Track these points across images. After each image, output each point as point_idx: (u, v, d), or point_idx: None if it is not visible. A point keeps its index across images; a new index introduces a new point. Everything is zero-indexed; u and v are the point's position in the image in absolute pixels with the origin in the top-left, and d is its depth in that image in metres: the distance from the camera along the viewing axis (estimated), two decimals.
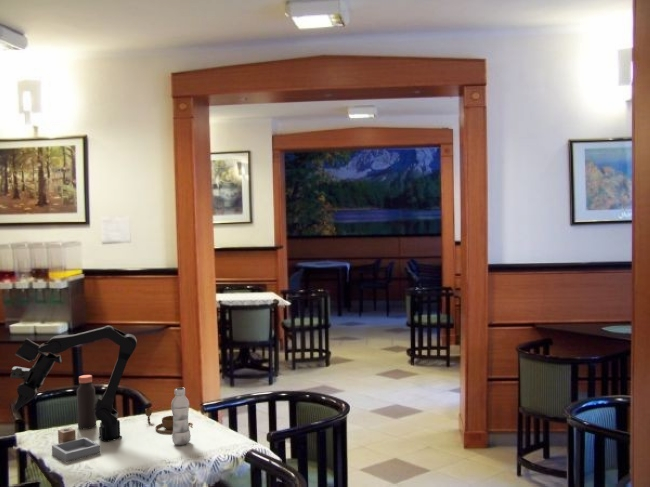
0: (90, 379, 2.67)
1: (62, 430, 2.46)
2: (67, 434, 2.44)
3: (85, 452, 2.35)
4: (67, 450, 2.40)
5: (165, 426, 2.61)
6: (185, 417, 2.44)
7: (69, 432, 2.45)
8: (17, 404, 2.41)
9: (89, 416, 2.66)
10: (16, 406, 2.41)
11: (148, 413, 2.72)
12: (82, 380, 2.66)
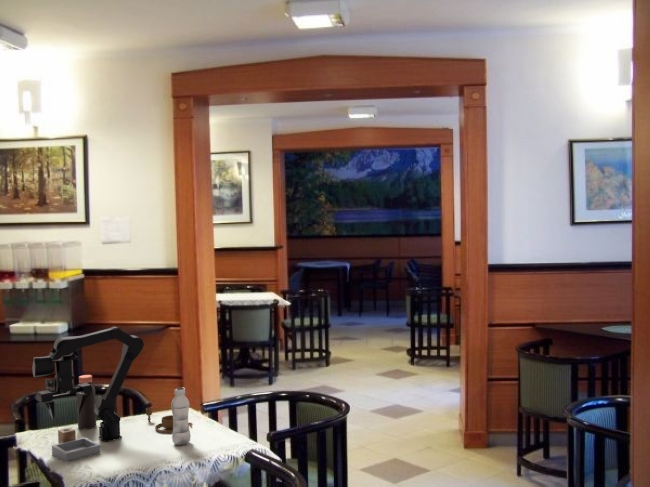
0: (90, 379, 2.67)
1: (62, 430, 2.46)
2: (67, 434, 2.44)
3: (85, 452, 2.35)
4: (67, 450, 2.40)
5: (164, 426, 2.62)
6: (185, 417, 2.44)
7: (69, 432, 2.45)
8: (50, 413, 2.43)
9: (89, 416, 2.66)
10: (51, 415, 2.43)
11: (148, 412, 2.73)
12: (82, 380, 2.66)
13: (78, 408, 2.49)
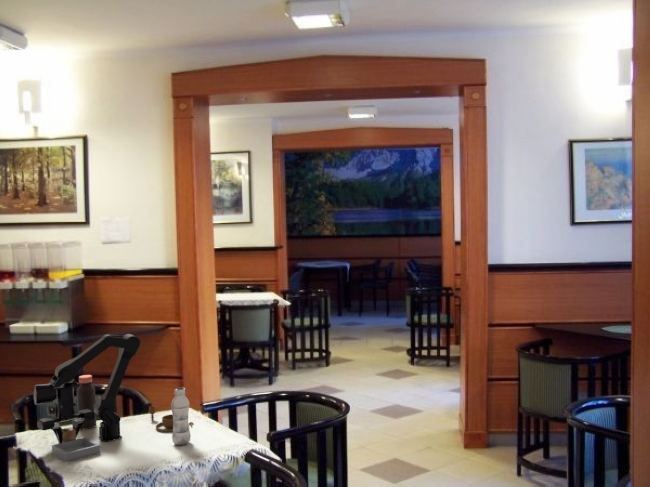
0: (90, 379, 2.67)
1: (62, 430, 2.46)
2: (67, 434, 2.44)
3: (85, 452, 2.35)
4: (67, 450, 2.40)
5: (165, 425, 2.63)
6: (185, 417, 2.44)
7: (69, 432, 2.45)
8: (57, 439, 2.44)
9: None
10: (58, 441, 2.45)
11: (151, 411, 2.75)
12: (82, 380, 2.66)
13: None
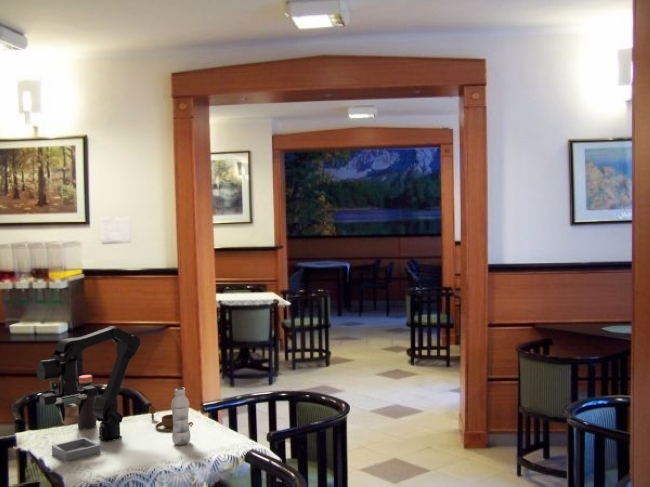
0: (90, 379, 2.67)
1: (65, 406, 2.41)
2: (70, 410, 2.40)
3: (85, 452, 2.35)
4: (67, 450, 2.40)
5: (164, 424, 2.63)
6: (185, 417, 2.44)
7: (72, 408, 2.40)
8: (60, 415, 2.40)
9: (89, 416, 2.66)
10: (61, 417, 2.40)
11: (152, 411, 2.76)
12: (82, 380, 2.66)
13: None
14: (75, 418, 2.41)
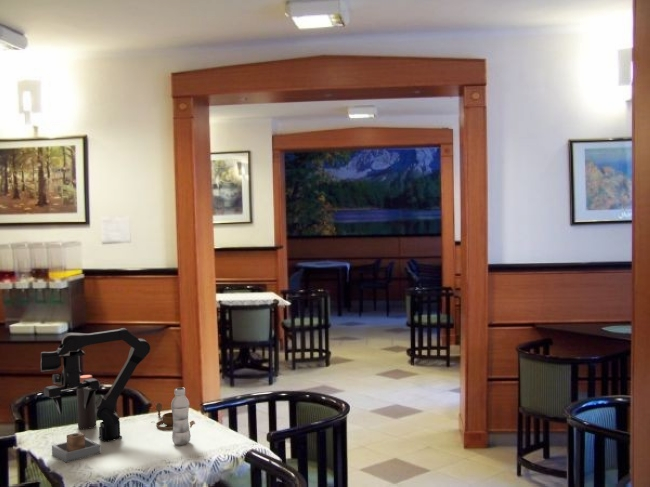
0: None
1: (71, 435, 2.38)
2: (76, 439, 2.36)
3: (85, 452, 2.35)
4: None
5: (164, 422, 2.66)
6: (185, 417, 2.44)
7: (78, 437, 2.37)
8: (57, 408, 2.45)
9: (89, 416, 2.66)
10: (58, 410, 2.45)
11: (158, 408, 2.79)
12: (82, 380, 2.66)
13: (85, 403, 2.51)
14: (82, 447, 2.38)
